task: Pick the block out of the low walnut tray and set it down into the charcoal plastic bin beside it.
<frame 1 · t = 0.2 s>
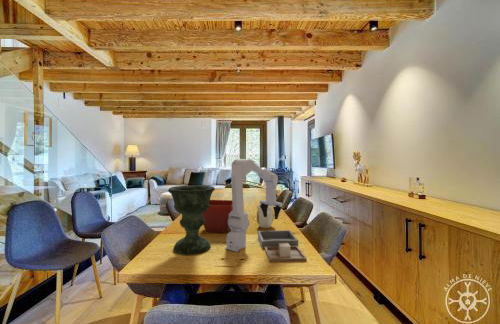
hand: (270, 217, 156), 10 cm above the table, tool pointing down, fingers open, 7 cm apart
plant pot: (218, 229, 169), on the table
block: (284, 254, 124), point 1 cm above the table, touching tray
goblet: (192, 248, 135), on the table
tray: (284, 256, 124), on the table
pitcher: (265, 227, 175), on the table
bin: (276, 242, 143), on the table
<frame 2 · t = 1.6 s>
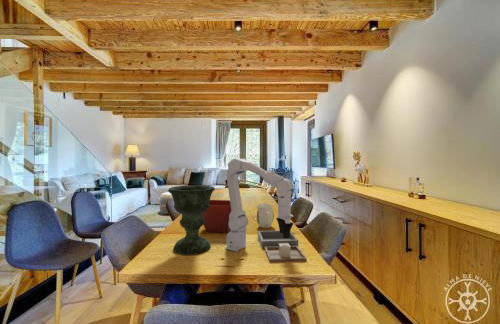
hand: (284, 235, 124), 9 cm above the table, tool pointing down, fingers open, 7 cm apart
nothing on the table moved.
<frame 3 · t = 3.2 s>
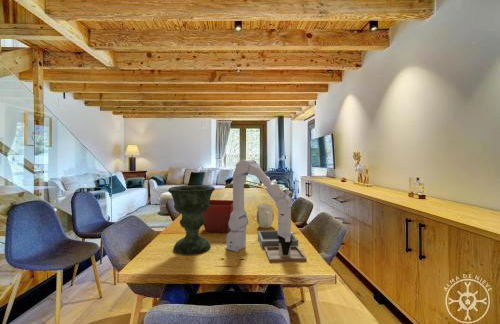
hand: (284, 252, 124), 2 cm above the table, tool pointing down, fingers closed on block, 4 cm apart
block: (284, 254, 124), point 1 cm above the table, touching gripper, tray
everything else where it was.
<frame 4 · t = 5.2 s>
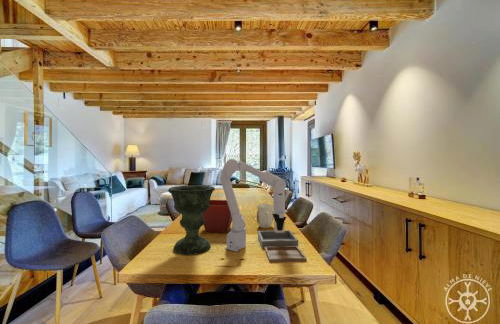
hand: (279, 229, 137), 9 cm above the table, tool pointing down, fingers closed on block, 4 cm apart
block: (279, 231, 137), point 8 cm above the table, touching gripper
everything else where it was.
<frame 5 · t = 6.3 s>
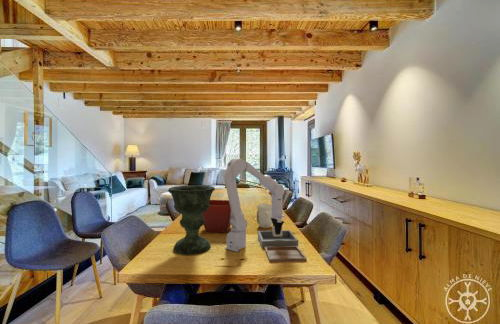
hand: (276, 232, 143), 5 cm above the table, tool pointing down, fingers closed on block, 4 cm apart
block: (277, 235, 143), point 4 cm above the table, touching gripper
everything else where it was.
when the fingers open (4 cm above the table, at t = 7.3 s): block drops 3 cm, resting on bin.
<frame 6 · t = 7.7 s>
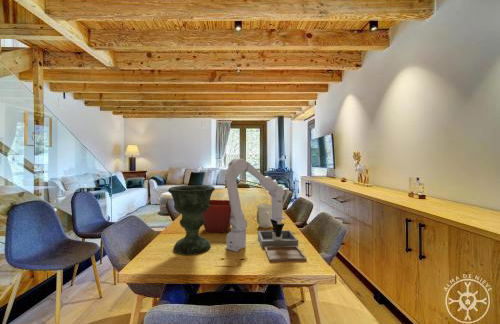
hand: (276, 234, 143), 4 cm above the table, tool pointing down, fingers open, 7 cm apart
block: (277, 241, 143), point 1 cm above the table, touching bin
everything else where it was.
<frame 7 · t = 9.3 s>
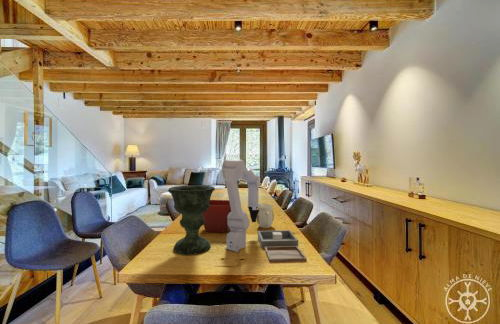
hand: (253, 220, 153), 9 cm above the table, tool pointing down, fingers open, 7 cm apart
nothing on the table moved.
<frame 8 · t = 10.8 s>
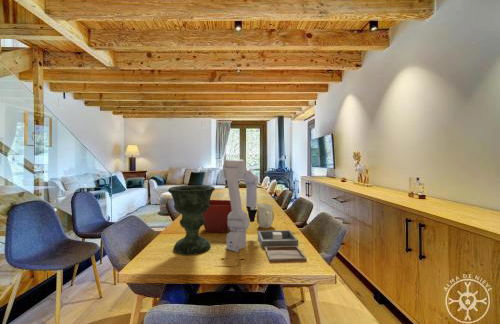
hand: (251, 220, 153), 9 cm above the table, tool pointing down, fingers open, 7 cm apart
nothing on the table moved.
at the end: block 0.1 cm from the bin (horizontally); block point 0.6 cm above the table; the gripper is holding nothing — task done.
